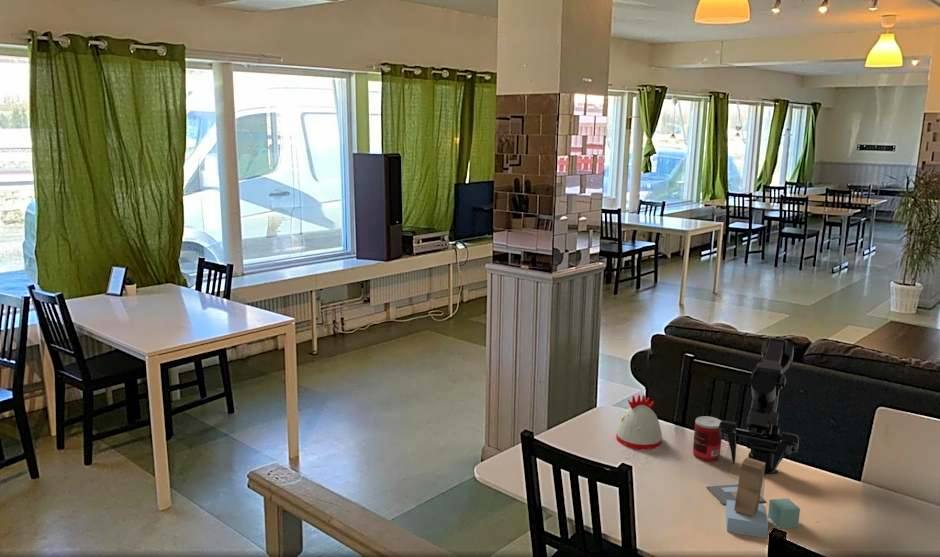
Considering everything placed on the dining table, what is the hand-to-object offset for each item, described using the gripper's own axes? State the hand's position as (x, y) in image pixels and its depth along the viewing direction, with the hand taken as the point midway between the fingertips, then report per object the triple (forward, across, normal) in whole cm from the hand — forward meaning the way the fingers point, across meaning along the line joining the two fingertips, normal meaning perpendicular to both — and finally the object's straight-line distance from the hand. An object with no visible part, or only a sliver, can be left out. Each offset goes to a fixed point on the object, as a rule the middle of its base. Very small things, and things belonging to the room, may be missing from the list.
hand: (752, 467), depth 175 cm
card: (+3, -4, +15) cm, 16 cm away
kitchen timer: (-12, -36, +30) cm, 48 cm away
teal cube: (+9, +8, +9) cm, 15 cm away
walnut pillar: (+10, 0, +2) cm, 10 cm away
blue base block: (+13, 0, +5) cm, 14 cm away
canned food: (-11, -16, +29) cm, 35 cm away
